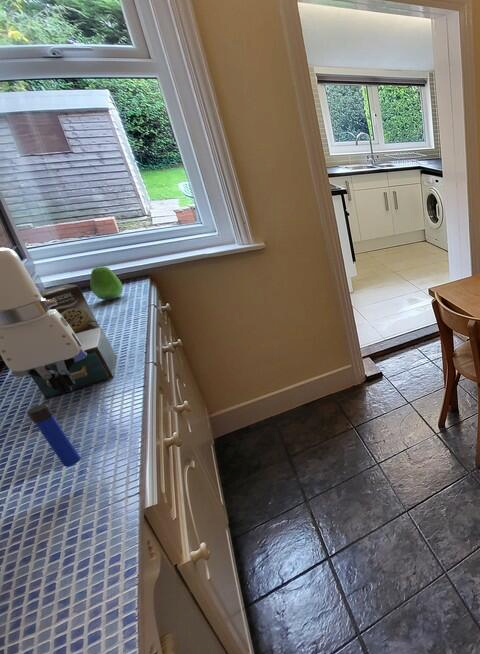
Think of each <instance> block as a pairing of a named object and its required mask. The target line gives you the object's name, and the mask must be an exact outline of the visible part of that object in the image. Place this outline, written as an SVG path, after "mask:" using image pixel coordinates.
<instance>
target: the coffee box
mask: <svg viewBox="0 0 480 654" xmlns="http://www.w3.org/2000/svg"><path fill="white" fill-rule="evenodd" d="M39 293H40V294H41V296H42V297H44V299H46V300H48V299H49V300H51V299H55V300H56V302H57V305H55V306H53V307H50V309H49V310H51V309H55V310H57V311H58V312H59V313H60V314H61V316H62V317H63V318H64V319H65V320H66V322H67V323H68V324H69V326H70V327H71V329H72V330H73V331H74V333H75V334H76V333H80V332H84V331H88V330H92V329H96V328H100V327H101V326H100V325H99V323H98V321H97V319H96V316H95V315H94V312H93V311H92V309H91V307H90V305H89V303H88V301H87V300H86V298H85V296H84V294H83V292H82V290H81V288H80V286H79V285H76V284H67V283H65V284H61V285H57V286H55V287H51V288H48V289H43V290H40V291H39Z"/></svg>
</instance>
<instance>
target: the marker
mask: <svg viewBox="0 0 480 654" xmlns="http://www.w3.org/2000/svg"><path fill="white" fill-rule="evenodd" d="M26 414H27V416H28V417H29V419H30V420H31V422H32V423H34V424H35V426H36V428H37V429H38V430H39V432H40V433H41V434H42V436H43V437H44V439H45V440H46V442H47V443H48V445H49V446H50V448H51V449H52V450H53V452H54V454H55V455H56V456H57V458H58V459H59V461H60V462H61V463H62V465H63V466H64V467H66V468H67V467H71V466H73V465H75V464H77V463H79V462H80V461H81V459H82V457H81V456H80V454H79V453H78V452H77V450H76V449H75V447H74V445H73V444H72V442H71V441H70V439H69V437H68V436H67V435H66V433H65V432H64V430H63V428H62V427H61V425H60V423H59V422H58V421H57V419H56V417H55V416H54V413H53V411H52V410H51V408H50V407H49V405H48V404H47V403H42V404H38V405H35V406H33V407H31V408H29V409H28V410H26Z"/></svg>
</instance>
